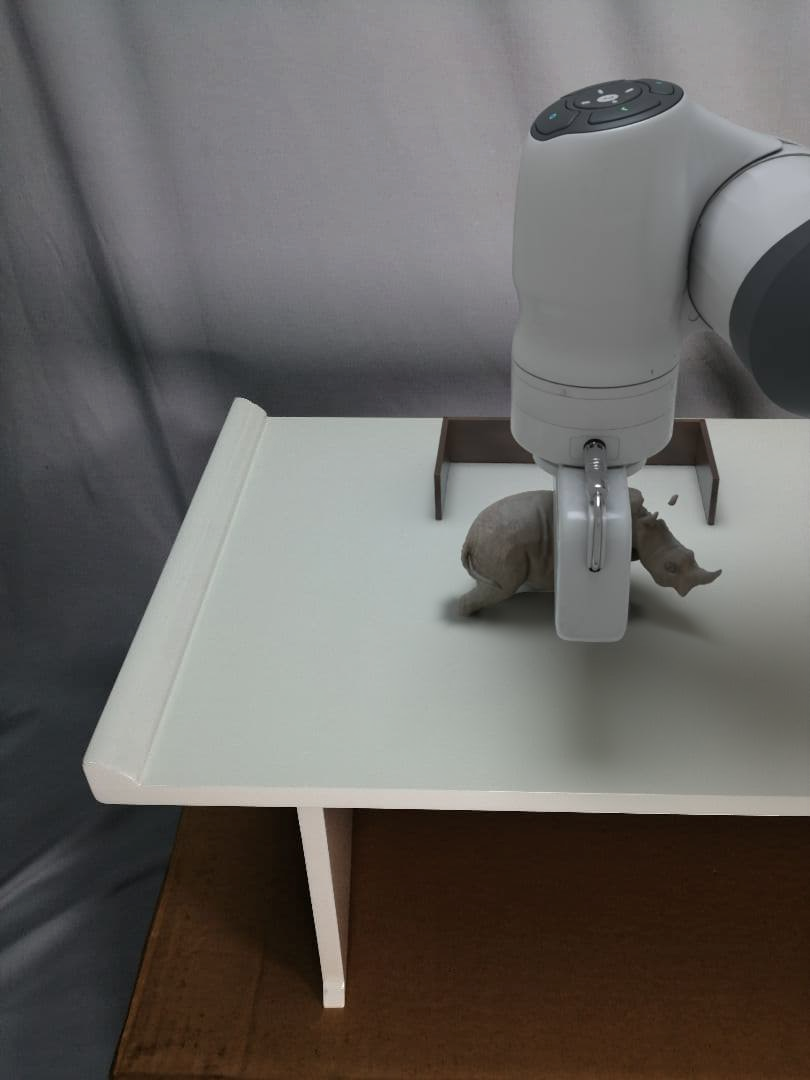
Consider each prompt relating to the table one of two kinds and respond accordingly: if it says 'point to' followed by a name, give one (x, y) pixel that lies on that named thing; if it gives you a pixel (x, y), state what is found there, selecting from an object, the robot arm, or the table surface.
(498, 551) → the rhinoceros figurine
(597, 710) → the table surface
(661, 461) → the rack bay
